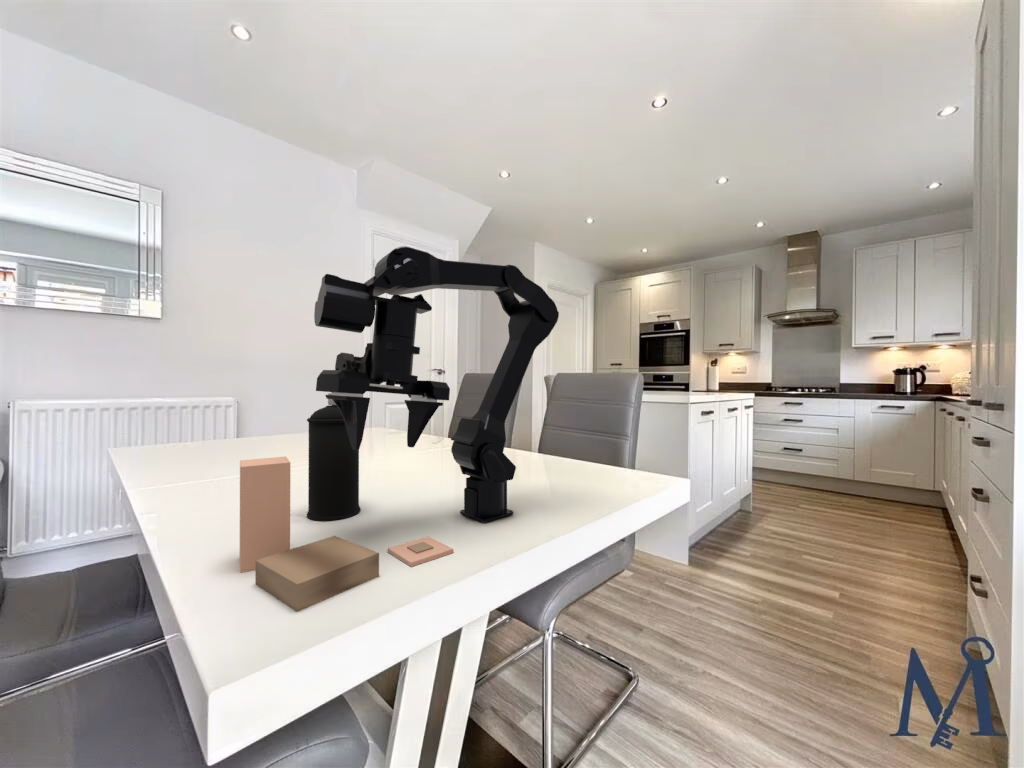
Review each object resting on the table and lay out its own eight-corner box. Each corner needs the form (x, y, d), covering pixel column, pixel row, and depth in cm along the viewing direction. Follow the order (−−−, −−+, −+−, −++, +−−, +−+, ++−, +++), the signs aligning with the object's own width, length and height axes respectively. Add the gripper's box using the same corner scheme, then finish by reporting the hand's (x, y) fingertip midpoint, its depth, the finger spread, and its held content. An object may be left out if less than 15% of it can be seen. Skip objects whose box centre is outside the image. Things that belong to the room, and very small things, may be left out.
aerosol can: (371, 510, 70) (371, 392, 70) (327, 524, 63) (328, 393, 63) (339, 503, 74) (339, 392, 74) (295, 516, 67) (296, 393, 67)
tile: (428, 539, 57) (428, 534, 57) (453, 552, 52) (453, 547, 52) (387, 551, 53) (387, 546, 53) (411, 566, 48) (411, 560, 48)
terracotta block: (285, 548, 54) (285, 456, 54) (290, 562, 50) (290, 462, 50) (239, 557, 51) (239, 460, 51) (240, 572, 47) (240, 466, 47)
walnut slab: (334, 559, 51) (334, 535, 51) (379, 579, 46) (378, 552, 46) (255, 588, 44) (255, 560, 44) (297, 616, 39) (297, 584, 39)
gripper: (408, 349, 71) (401, 440, 70) (300, 329, 56) (289, 444, 55) (455, 347, 64) (447, 448, 64) (346, 323, 49) (334, 454, 49)
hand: (384, 448), depth 58 cm, fingers open, 9 cm apart
